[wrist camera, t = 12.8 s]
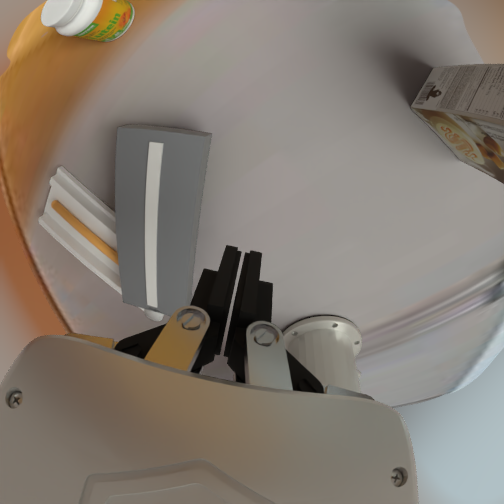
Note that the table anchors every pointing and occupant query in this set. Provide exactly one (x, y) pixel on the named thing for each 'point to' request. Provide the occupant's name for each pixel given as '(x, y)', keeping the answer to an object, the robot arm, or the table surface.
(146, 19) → the table surface
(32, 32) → the table surface
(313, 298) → the table surface
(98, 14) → the supplement bottle
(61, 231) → the duct base
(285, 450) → the robot arm
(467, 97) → the coffee box
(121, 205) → the block
